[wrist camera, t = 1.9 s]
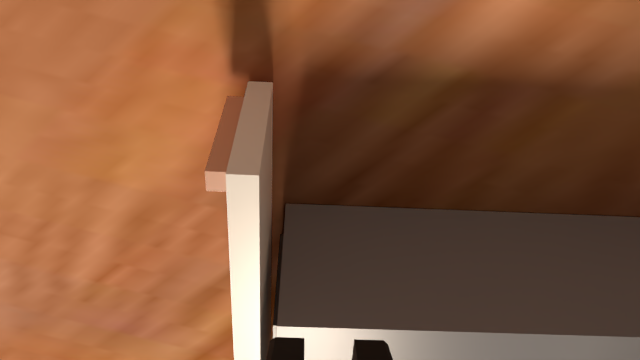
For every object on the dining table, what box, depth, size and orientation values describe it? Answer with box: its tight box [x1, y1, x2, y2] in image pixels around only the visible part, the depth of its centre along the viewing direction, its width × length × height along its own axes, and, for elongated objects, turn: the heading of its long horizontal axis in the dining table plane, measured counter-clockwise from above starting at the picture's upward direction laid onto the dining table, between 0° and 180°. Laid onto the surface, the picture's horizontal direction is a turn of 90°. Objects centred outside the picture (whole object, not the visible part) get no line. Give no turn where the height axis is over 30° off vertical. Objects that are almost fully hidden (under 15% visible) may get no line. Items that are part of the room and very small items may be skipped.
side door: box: [205, 81, 273, 360], centre depth 20 cm, size 15×1×6 cm, turn 177°
